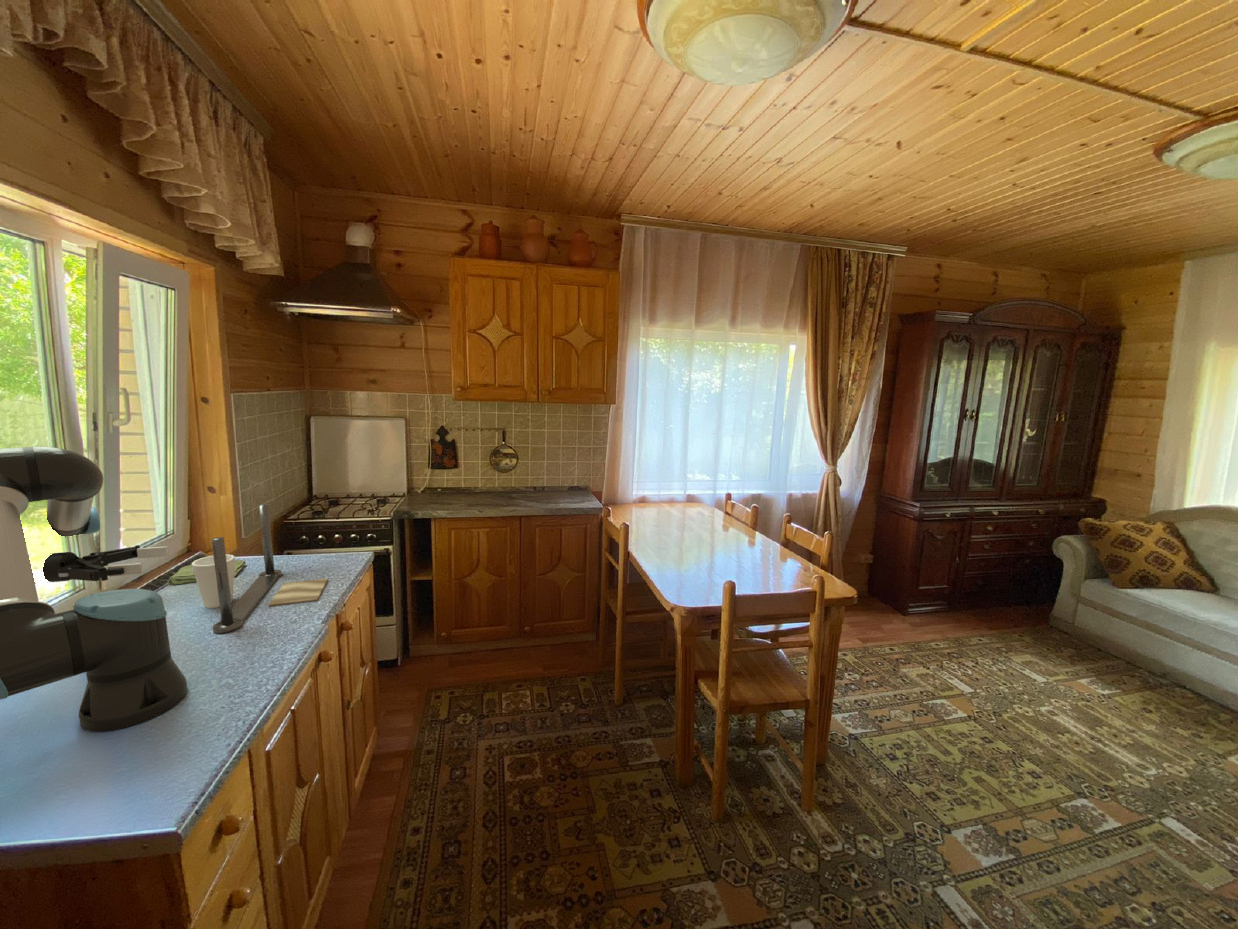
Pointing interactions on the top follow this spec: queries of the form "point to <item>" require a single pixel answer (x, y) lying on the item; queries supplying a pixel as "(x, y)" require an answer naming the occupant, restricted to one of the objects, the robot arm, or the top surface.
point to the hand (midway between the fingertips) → (155, 559)
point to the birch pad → (299, 592)
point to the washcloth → (187, 575)
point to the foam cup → (211, 579)
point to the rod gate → (243, 607)
